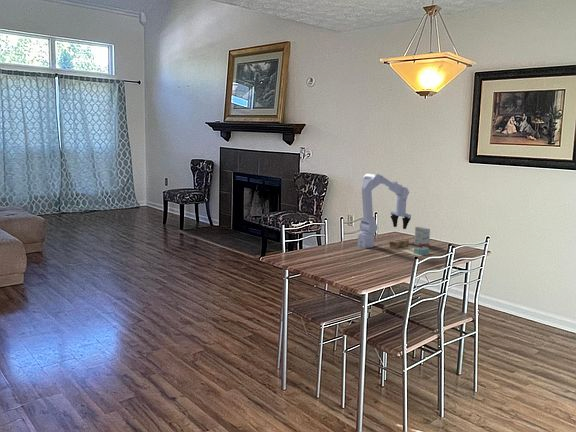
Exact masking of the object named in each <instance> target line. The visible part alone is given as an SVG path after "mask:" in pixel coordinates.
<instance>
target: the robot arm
mask: <svg viewBox="0 0 576 432" xmlns="http://www.w3.org/2000/svg"><path fill="white" fill-rule="evenodd" d="M379 185H384V186H386V187H388V190H389V191H391V192H393V193H395V195H396V209H395V211H390V218H391V221H392V226H393V227H394V228H397V227H398V220H399V217H402V218H401V219H402V229H403V230H406V229H407V226H408V225H409V222H410V221H411V218H412V214H408V213H407V212H406V211H407V210H406V209H407V200H408V196H409V194H410V191H409V189H408V187H405V186H403V185H402V184H399V183H398V181H397V180H396V181H395V180H394V181H390V180H389V179H388V178H387V177H384V176H383V175H381V174H379V173H378V174H377V173H376V174H375V173H370V172H367V173H365V175H364V176H363V177H362V186H361V196H362V197H361V198H362V199H361V201H362V212H363V214H362V215H363V217H362V218H361V219H360V223H359V228H360V229H359V230H361V233H360V234H358V237H357V247H359V248H363V249H367V248H373V247H375V235H376V232H377V231H378V224H377V220H376V219H375V218H374V214H373V213H374V212H373V209H374V208H373V196H372V194H373V192H372V191H373V190H374V189H376V187H378V186H379Z"/></svg>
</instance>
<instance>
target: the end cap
mask: <svg viewBox="0 0 576 432" xmlns="http://www.w3.org/2000/svg"><path fill="white" fill-rule="evenodd" d="M413 248H414V254H418V255H422V256H425V255H424V254H427V255H430V254H429V252H430V248H429V247H421V248H416V247H413Z"/></svg>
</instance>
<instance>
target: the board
mask: <svg viewBox="0 0 576 432" xmlns="http://www.w3.org/2000/svg"><path fill="white" fill-rule="evenodd" d="M414 248H415V247H411V246H408V247H405V248H400V249H393V250H394V251H398V252H402V253H405V254H410V255H413V256H416V257H421V256H426V255H430V254H431V255H432V254H433V252H430V251H429V254H424V255H418V254H414ZM388 249H390V250H392V249H391V248H390V246H389V247H388Z"/></svg>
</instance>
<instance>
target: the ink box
mask: <svg viewBox="0 0 576 432" xmlns="http://www.w3.org/2000/svg"><path fill="white" fill-rule="evenodd" d="M414 230H415V231H414V242H413V244H414V245H416V246H418V247H421V248H422V247H427V248H429V246H430V237H431V236H430V234H431V228H427V227H424V226H415V228H414Z"/></svg>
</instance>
